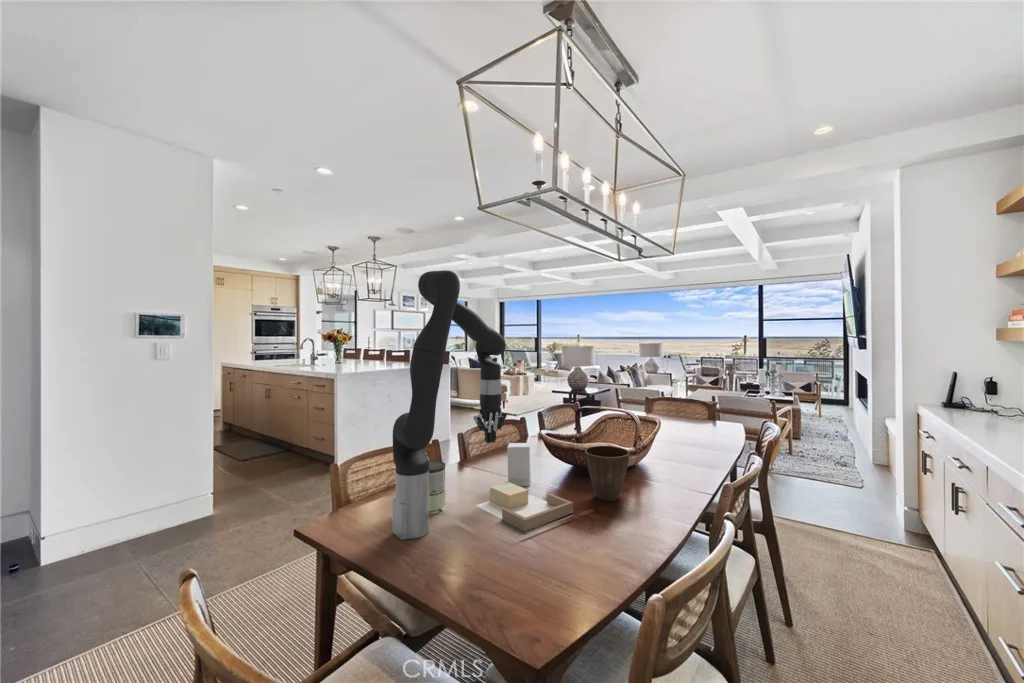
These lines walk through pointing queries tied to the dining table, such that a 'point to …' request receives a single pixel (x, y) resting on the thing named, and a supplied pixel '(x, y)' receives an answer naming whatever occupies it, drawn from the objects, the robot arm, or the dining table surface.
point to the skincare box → (519, 464)
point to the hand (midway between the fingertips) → (490, 442)
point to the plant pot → (607, 470)
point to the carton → (509, 495)
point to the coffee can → (436, 486)
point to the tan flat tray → (532, 512)
